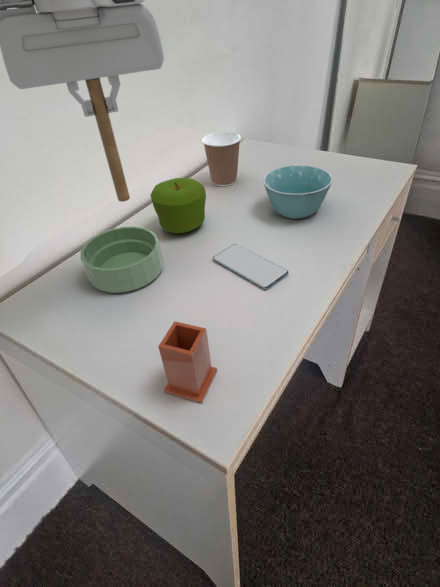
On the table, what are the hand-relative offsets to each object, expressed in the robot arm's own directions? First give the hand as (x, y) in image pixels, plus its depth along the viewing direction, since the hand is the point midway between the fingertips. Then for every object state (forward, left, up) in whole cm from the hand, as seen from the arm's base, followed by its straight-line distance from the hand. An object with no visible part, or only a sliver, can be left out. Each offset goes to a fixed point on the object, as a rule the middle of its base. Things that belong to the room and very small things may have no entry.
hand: (101, 113), depth 54 cm
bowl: (+23, +34, -31) cm, 52 cm away
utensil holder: (+19, -20, -31) cm, 41 cm away
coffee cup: (0, +46, -31) cm, 56 cm away
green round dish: (-5, +1, -31) cm, 31 cm away
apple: (-1, +20, -31) cm, 37 cm away
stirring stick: (0, 0, -14) cm, 14 cm away
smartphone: (+19, +9, -31) cm, 38 cm away
